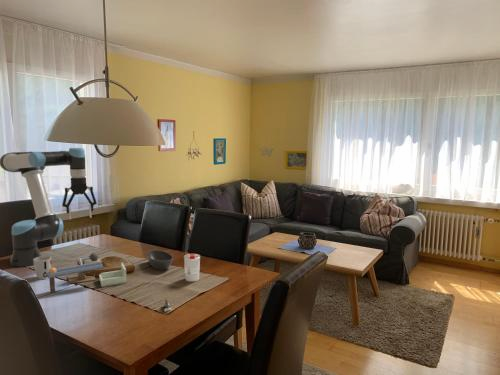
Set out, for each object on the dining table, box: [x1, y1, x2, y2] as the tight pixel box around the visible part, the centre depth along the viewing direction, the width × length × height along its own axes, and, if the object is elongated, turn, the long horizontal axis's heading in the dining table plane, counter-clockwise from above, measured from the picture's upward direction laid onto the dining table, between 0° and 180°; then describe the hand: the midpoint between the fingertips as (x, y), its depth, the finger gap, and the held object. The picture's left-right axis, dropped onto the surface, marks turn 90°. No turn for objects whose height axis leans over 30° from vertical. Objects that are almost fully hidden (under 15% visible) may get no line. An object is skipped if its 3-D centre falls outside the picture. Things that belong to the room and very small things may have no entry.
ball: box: [49, 267, 57, 274], centre depth 170 cm, size 3×3×3 cm
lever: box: [47, 252, 104, 279], centre depth 181 cm, size 18×24×4 cm
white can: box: [183, 253, 201, 283], centre depth 187 cm, size 10×8×12 cm
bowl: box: [145, 249, 174, 271], centre depth 206 cm, size 12×22×6 cm, turn 39°
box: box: [98, 262, 127, 288], centre depth 183 cm, size 10×12×7 cm
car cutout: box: [161, 298, 173, 312], centre depth 152 cm, size 15×7×4 cm, turn 26°
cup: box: [33, 255, 52, 280], centre depth 187 cm, size 8×8×10 cm
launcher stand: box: [48, 259, 96, 294], centre depth 181 cm, size 18×20×10 cm
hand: (80, 218), depth 199 cm, fingers open, 9 cm apart
